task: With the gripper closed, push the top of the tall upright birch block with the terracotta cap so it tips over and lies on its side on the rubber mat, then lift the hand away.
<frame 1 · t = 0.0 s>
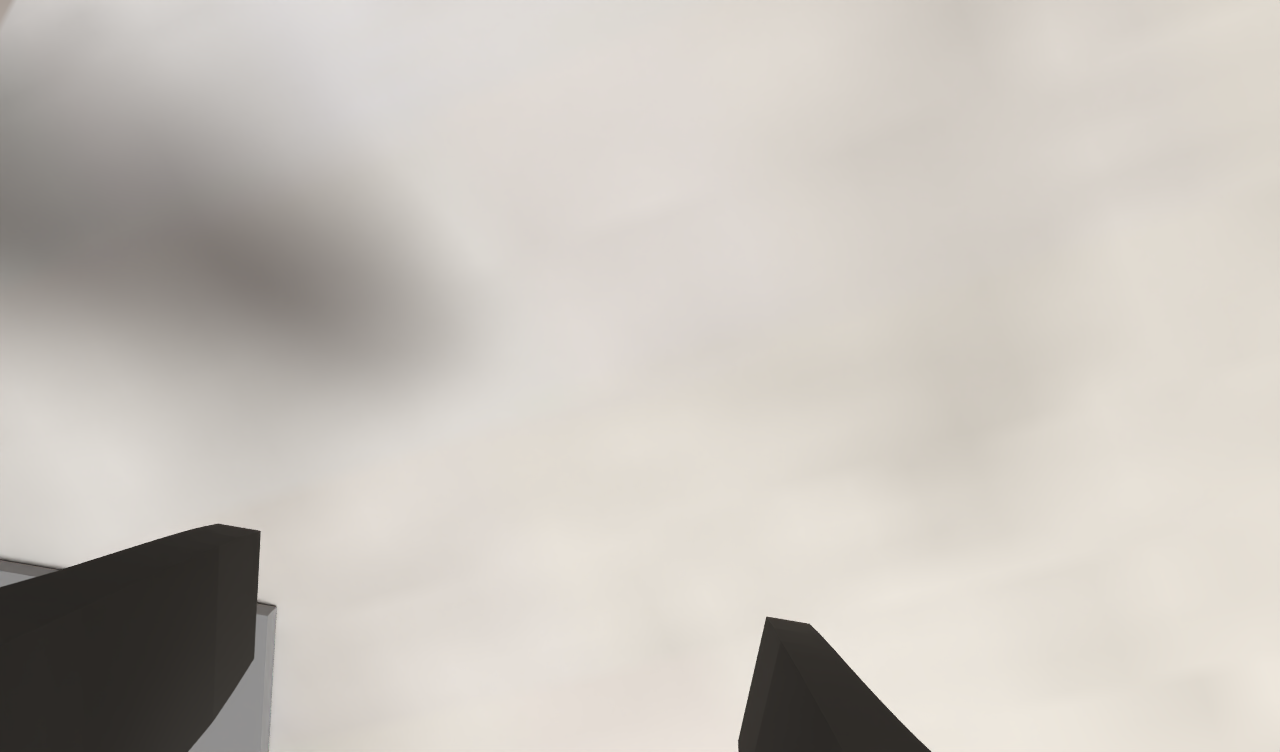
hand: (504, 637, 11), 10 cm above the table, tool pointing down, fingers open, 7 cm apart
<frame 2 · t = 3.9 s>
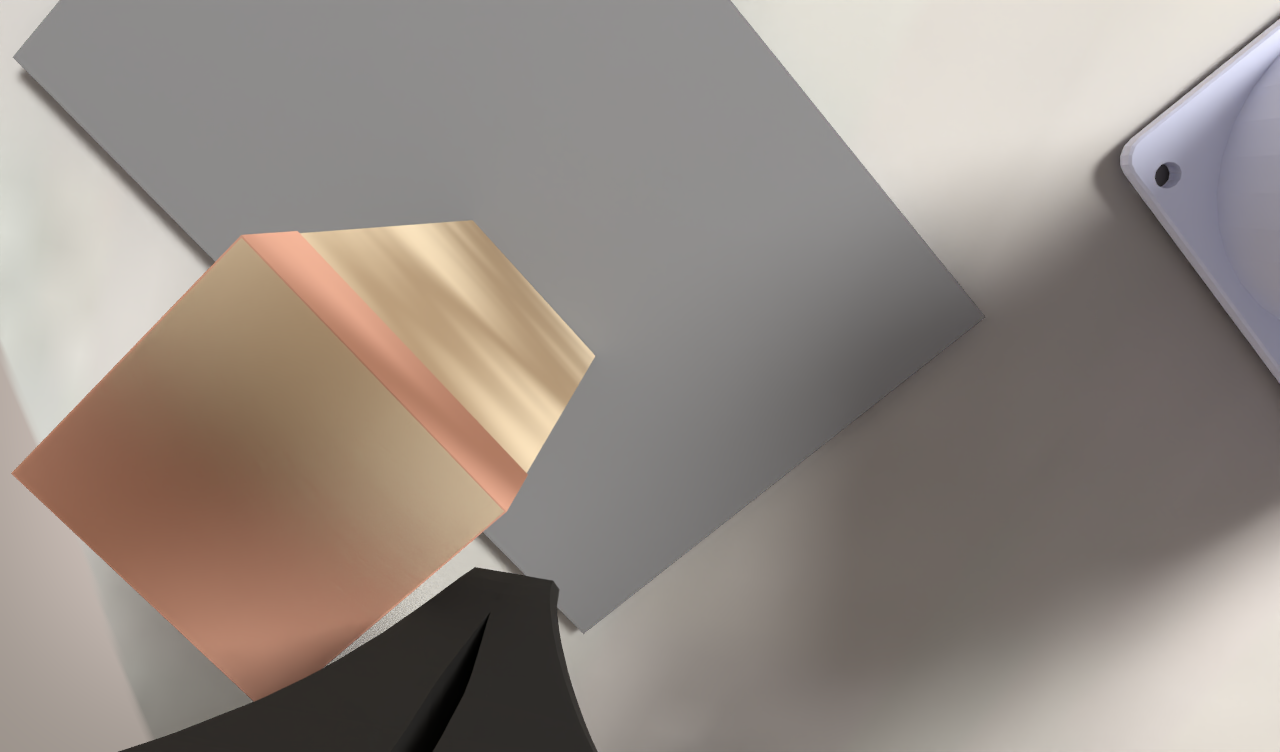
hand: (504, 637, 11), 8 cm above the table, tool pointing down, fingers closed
rubber mat: (509, 188, 17), on the table
birch block: (471, 347, 17), point 1 cm above the table, touching gripper, rubber mat
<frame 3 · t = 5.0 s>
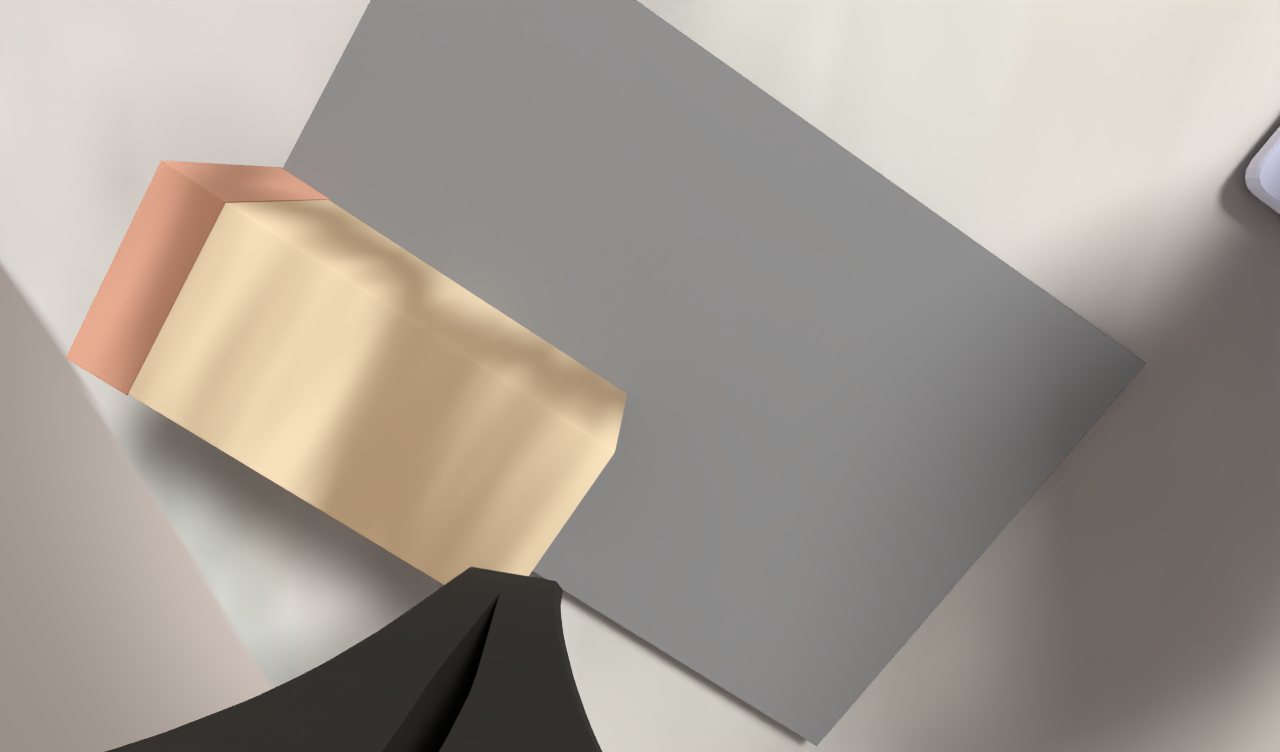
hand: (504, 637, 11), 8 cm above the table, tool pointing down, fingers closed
rubber mat: (653, 354, 18), on the table
birch block: (569, 495, 16), point 2 cm above the table, tilted 90°, touching rubber mat
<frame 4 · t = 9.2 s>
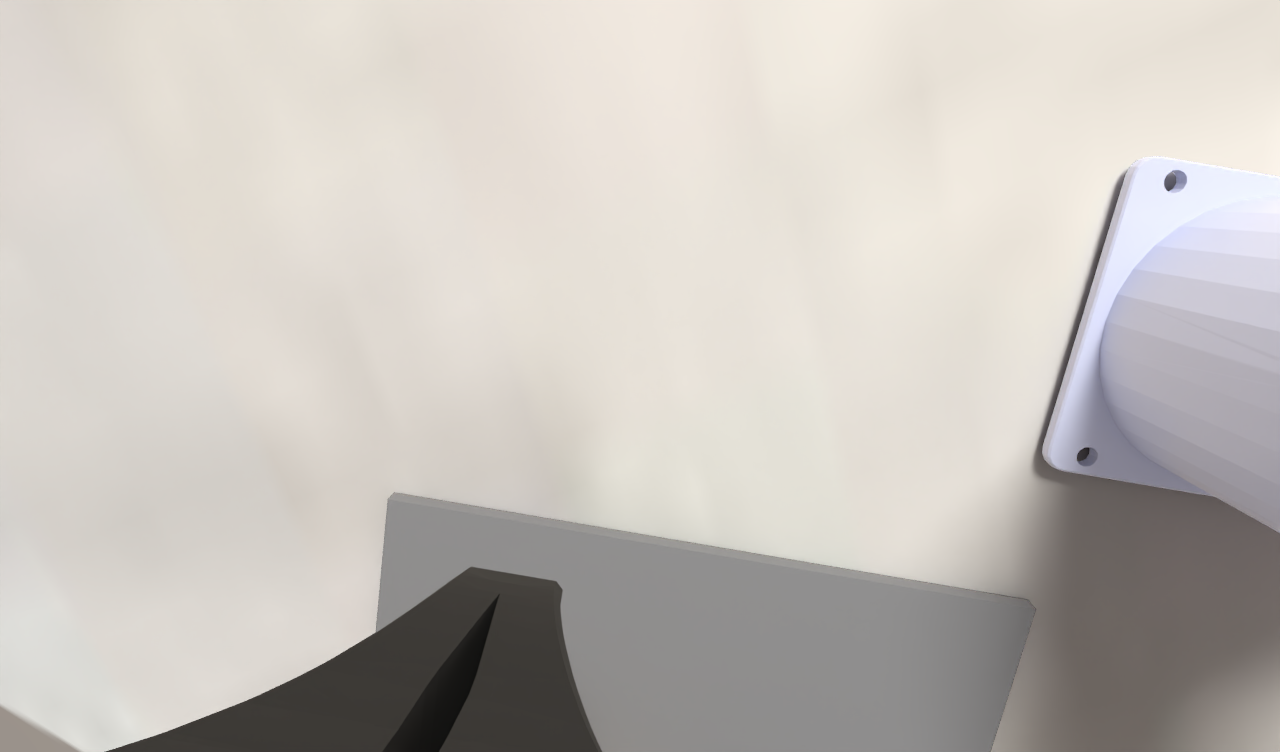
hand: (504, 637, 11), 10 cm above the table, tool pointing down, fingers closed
rubber mat: (674, 728, 23), on the table
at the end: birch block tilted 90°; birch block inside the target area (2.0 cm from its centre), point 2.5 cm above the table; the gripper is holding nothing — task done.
